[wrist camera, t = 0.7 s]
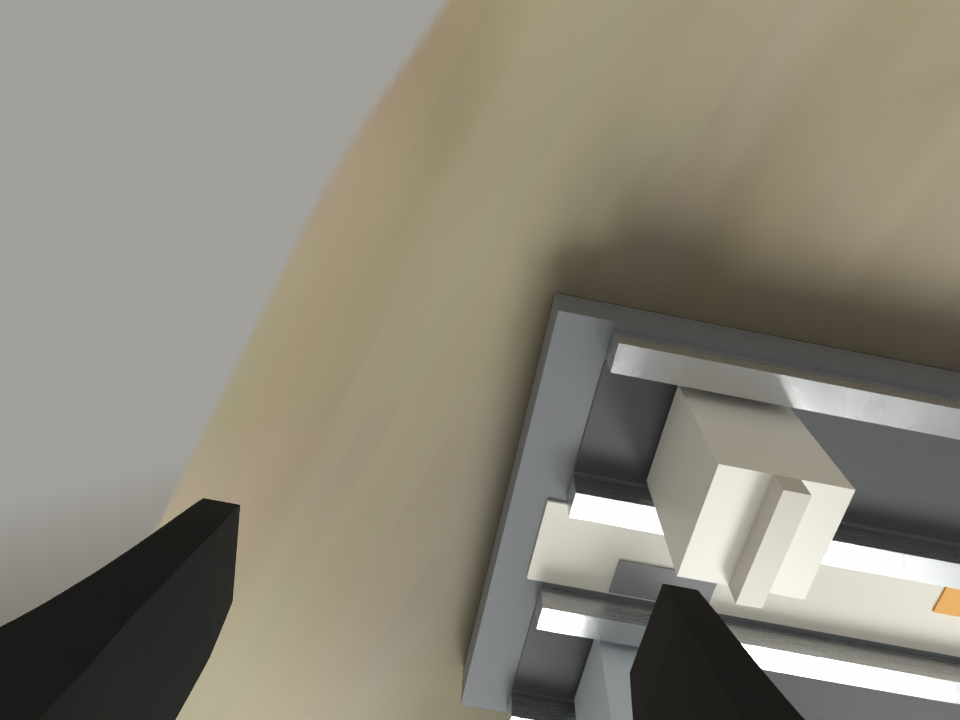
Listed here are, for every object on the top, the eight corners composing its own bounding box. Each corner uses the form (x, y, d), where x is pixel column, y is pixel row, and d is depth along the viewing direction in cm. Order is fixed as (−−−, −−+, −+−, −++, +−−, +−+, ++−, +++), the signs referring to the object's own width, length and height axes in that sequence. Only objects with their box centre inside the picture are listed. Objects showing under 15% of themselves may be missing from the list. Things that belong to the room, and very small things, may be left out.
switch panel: (1062, 774, 26) (1115, 843, 24) (463, 669, 25) (458, 730, 23) (1306, 440, 21) (1407, 489, 18) (555, 292, 20) (561, 323, 18)
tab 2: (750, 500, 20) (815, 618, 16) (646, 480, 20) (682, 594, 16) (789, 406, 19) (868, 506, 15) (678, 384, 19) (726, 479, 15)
